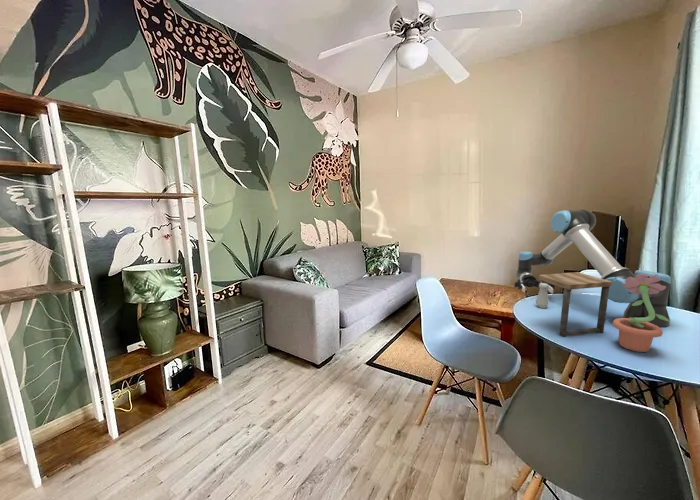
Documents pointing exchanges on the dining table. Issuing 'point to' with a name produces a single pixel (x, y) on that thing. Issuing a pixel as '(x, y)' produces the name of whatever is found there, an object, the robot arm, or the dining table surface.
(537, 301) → the salt shaker
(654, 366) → the dining table surface
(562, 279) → the wooden side table
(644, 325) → the decorative flower
